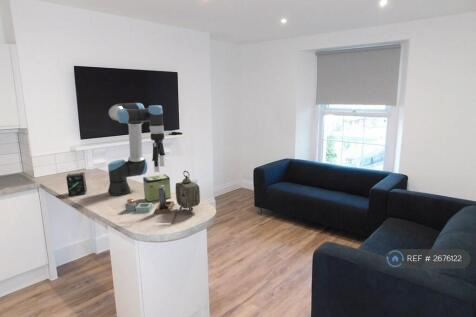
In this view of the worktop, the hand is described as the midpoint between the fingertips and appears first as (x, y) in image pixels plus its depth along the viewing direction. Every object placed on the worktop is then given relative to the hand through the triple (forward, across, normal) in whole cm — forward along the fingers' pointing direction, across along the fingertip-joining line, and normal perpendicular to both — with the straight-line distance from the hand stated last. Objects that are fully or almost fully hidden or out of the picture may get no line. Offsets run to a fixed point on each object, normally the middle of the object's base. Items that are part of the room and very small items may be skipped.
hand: (159, 169), depth 185 cm
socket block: (+27, -2, -14) cm, 31 cm away
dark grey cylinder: (+26, +1, 0) cm, 26 cm away
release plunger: (+24, -2, -20) cm, 31 cm away
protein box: (+27, -24, -8) cm, 37 cm away
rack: (+27, -3, 0) cm, 27 cm away
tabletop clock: (+27, -1, +16) cm, 31 cm away
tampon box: (+28, -42, -70) cm, 87 cm away
